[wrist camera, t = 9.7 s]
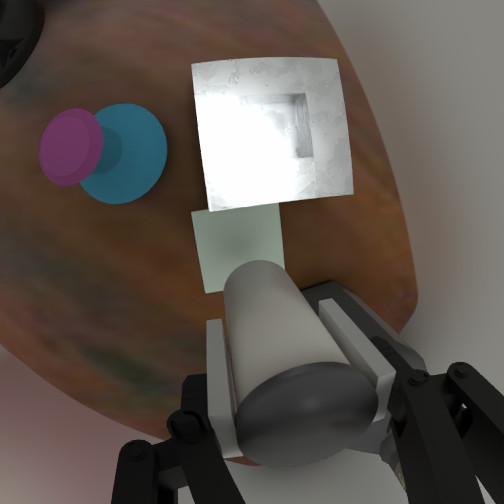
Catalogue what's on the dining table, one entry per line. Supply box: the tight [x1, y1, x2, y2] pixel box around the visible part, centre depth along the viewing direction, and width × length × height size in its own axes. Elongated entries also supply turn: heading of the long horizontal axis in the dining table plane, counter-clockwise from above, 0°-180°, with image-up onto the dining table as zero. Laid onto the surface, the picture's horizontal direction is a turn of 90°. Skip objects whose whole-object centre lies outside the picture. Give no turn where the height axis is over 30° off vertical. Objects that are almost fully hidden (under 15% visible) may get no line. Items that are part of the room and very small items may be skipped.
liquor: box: [301, 281, 427, 493], centre depth 21 cm, size 9×9×30 cm
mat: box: [191, 202, 285, 293], centre depth 31 cm, size 9×9×1 cm
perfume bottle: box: [39, 103, 167, 204], centre depth 20 cm, size 9×9×15 cm
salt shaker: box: [223, 260, 379, 467], centre depth 14 cm, size 5×5×12 cm
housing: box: [191, 57, 354, 212], centre depth 25 cm, size 13×13×6 cm
